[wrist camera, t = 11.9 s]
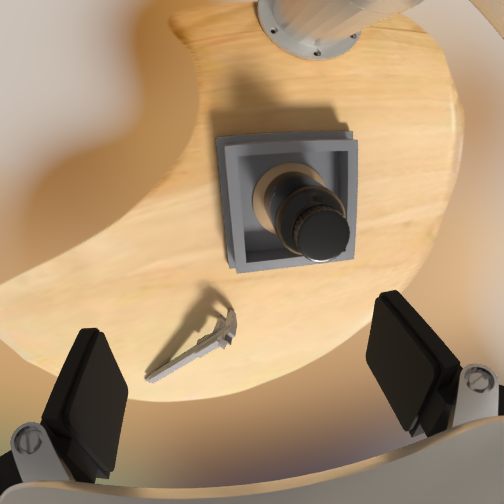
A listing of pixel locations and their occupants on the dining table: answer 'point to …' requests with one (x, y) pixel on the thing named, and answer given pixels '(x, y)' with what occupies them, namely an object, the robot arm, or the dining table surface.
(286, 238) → the supplement bottle
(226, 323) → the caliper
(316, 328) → the dining table surface
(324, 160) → the housing
